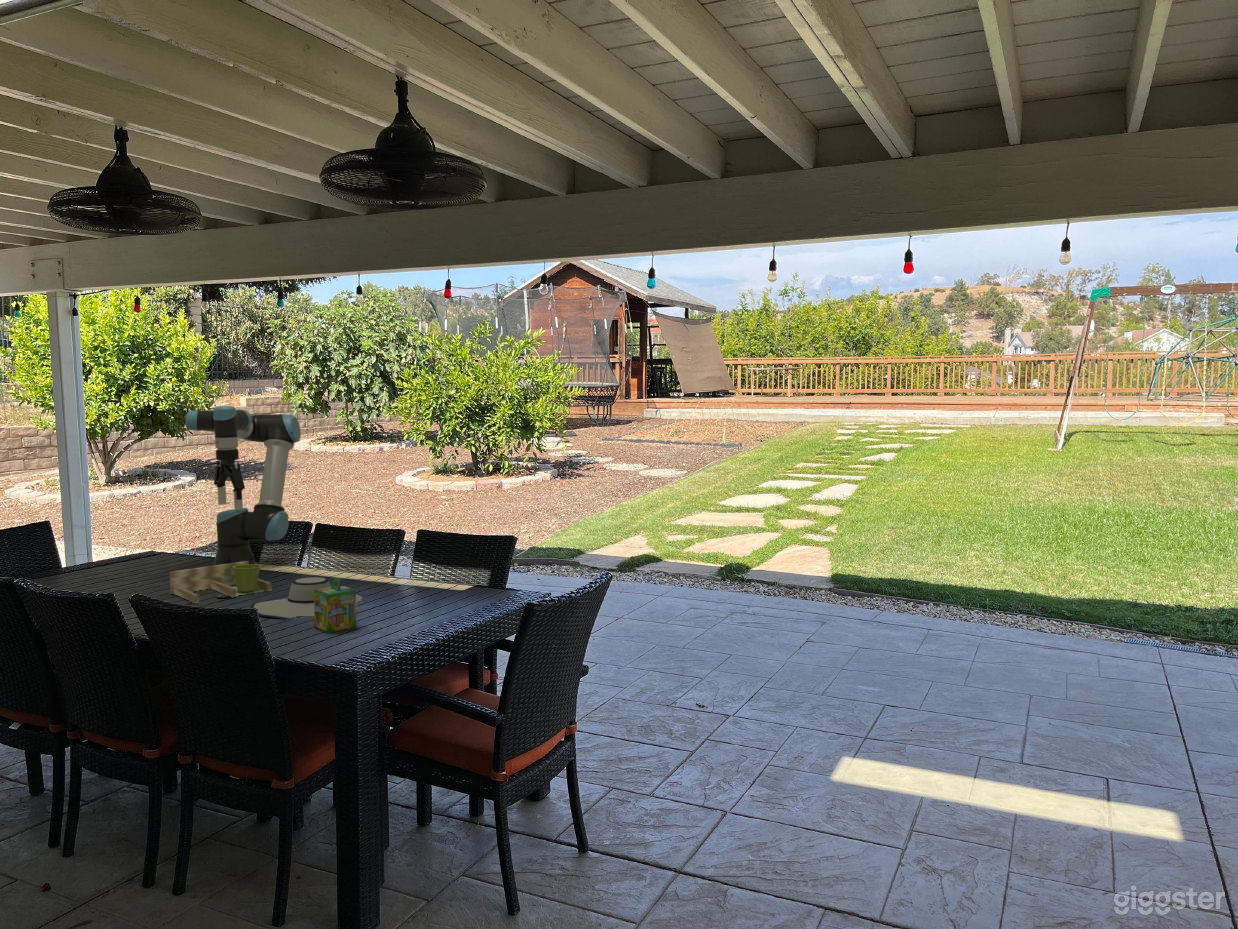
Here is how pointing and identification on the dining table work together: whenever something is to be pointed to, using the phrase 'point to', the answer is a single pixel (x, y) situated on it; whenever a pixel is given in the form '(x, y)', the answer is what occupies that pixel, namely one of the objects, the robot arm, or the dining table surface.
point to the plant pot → (247, 577)
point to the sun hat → (295, 600)
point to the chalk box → (335, 607)
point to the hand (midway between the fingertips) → (230, 506)
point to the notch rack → (210, 581)
